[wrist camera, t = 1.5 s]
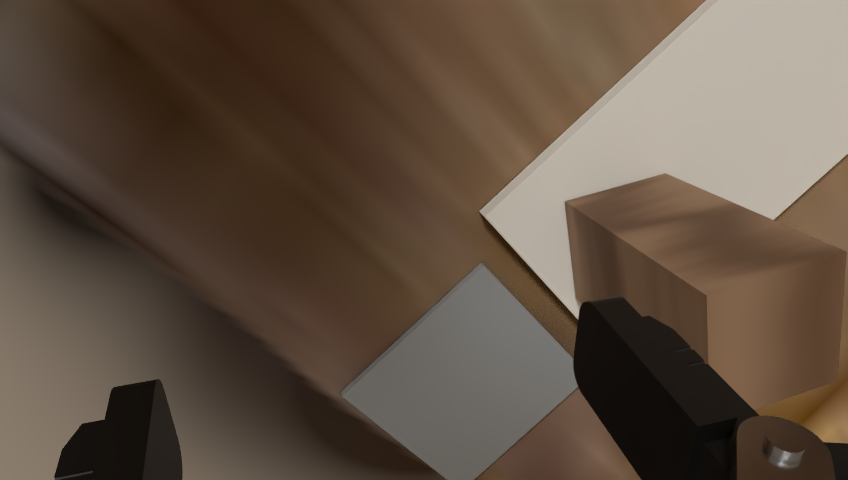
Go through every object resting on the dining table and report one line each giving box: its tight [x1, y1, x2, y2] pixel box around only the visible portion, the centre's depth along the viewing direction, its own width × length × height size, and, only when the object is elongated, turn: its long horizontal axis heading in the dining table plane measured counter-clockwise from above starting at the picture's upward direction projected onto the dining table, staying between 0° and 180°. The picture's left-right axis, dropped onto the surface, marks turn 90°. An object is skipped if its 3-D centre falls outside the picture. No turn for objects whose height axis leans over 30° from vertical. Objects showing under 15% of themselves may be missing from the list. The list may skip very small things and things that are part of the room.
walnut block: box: [565, 173, 847, 410], centre depth 26 cm, size 5×5×10 cm
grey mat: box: [341, 262, 578, 480], centre depth 32 cm, size 9×9×1 cm
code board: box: [479, 0, 848, 320], centre depth 30 cm, size 11×24×1 cm, turn 132°
